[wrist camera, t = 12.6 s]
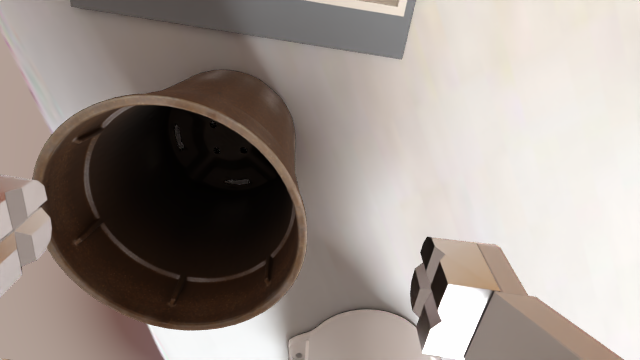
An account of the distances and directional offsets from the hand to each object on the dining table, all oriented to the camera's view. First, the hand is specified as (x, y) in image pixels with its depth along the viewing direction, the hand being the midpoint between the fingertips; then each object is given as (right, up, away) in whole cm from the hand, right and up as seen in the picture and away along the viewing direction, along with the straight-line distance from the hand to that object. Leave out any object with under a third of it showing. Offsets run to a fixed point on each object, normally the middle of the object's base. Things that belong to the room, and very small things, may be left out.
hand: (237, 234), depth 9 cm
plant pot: (-7, +6, +30) cm, 32 cm away
